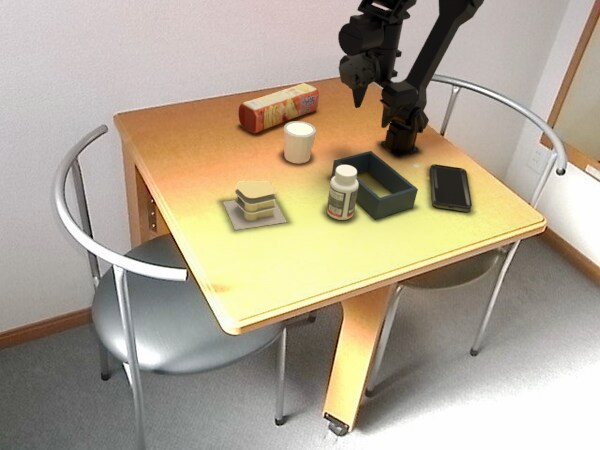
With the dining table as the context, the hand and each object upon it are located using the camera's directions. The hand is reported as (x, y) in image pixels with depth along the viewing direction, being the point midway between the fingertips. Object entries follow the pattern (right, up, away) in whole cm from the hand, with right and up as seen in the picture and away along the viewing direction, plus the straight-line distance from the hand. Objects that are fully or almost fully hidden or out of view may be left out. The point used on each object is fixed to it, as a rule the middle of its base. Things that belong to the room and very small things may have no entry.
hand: (370, 117), depth 127 cm
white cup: (-15, -7, +8) cm, 19 cm away
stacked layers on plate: (-23, -20, -9) cm, 32 cm away
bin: (0, -16, 0) cm, 16 cm away
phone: (+17, -15, +3) cm, 23 cm away
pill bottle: (-7, -20, -7) cm, 22 cm away
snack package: (-19, +3, +21) cm, 29 cm away
